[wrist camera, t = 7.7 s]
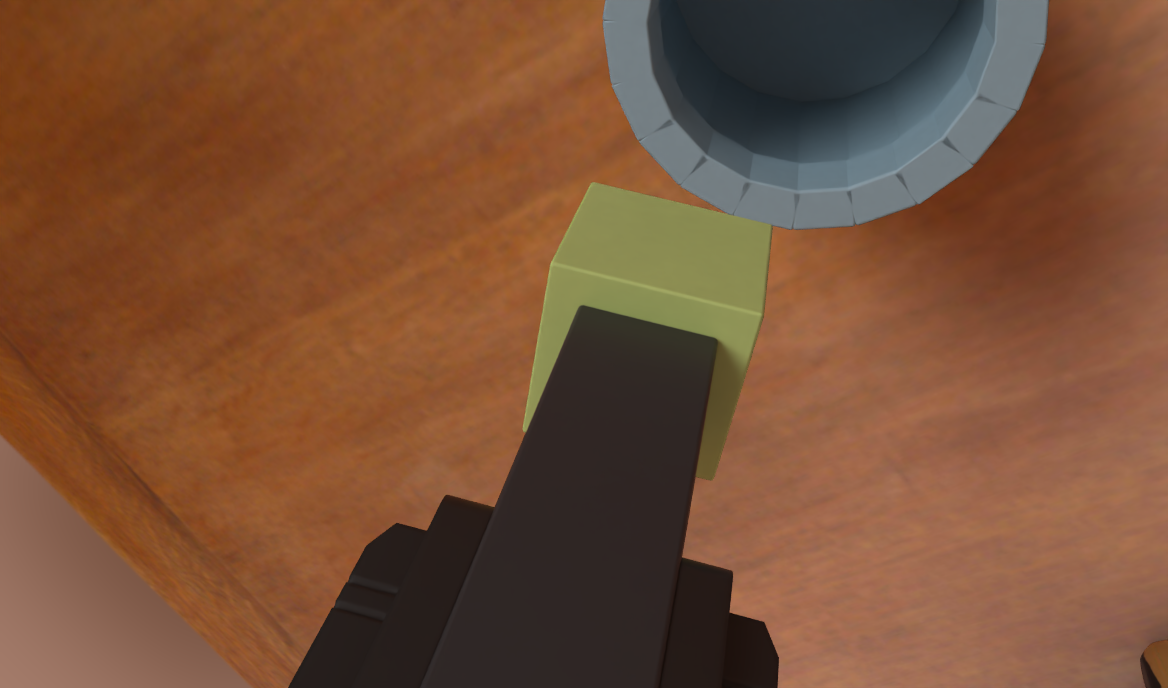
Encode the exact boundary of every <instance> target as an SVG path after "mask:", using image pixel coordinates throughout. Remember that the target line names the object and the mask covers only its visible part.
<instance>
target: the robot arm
mask: <svg viewBox="0 0 1168 688" xmlns="http://www.w3.org/2000/svg"><path fill="white" fill-rule="evenodd" d="M494 508H495V507H492V506H488V505H484V504H480V503H477V502H473V501H469V500H465V499H461V498H458V497H454V496H450V495H446V496H445V497H444V498H443V500H442V502H441V503H440V506H439V508H438V510H437V512H436V514H435V516H434V518H433V520H432V522H431V524H430V526H429V528H428V530H427V531H425V530H422V529H418V528H414V527H410V526H407V525H403V524H399V523H396V524H394V525H393V526H392V527H390V528H389V529H388V530H386V531H385V532H384V533H382V534H381V535H380V536H378V537H377V538H376V539H375V540H373V541H372V542H371V543H369V544H368V545H367V546H366V547H365V549H364V551H363V553H362V555H361V556H360V558H359V560H358V562H357V564H356V566H355V567H354V569H353V571H352V573H351V575H350V577H349V581H348V583H347V582H346V584H345V585H344V587H343V589H342V591H341V593H340V595H339V596H338V598H337V600H336V603H335V606H334V608H332V609H331V611H330V613H329V614H328V616H327V618H326V620H325V622H324V624H323V625H322V627H321V629H320V631H319V633H318V634H317V636H316V638H315V640H314V642H313V643H312V645H311V647H310V649H309V651H308V653H307V654H306V656H305V658H304V660H303V662H302V663H301V665H300V667H299V669H298V671H297V672H296V674H295V676H294V678H293V680H292V682H291V683H290V685H289V687H288V688H420V687H421V684H422V682H423V679H424V677H425V675H426V672H427V670H428V667H429V665H430V663H431V660H432V658H433V655H434V653H435V651H436V648H437V646H438V643H439V641H440V639H441V636H442V634H443V631H444V629H445V627H446V624H447V622H448V619H449V617H450V615H451V612H452V610H453V607H454V605H455V603H456V600H457V598H458V595H459V593H460V591H461V588H462V586H463V583H464V581H465V579H466V576H467V574H468V571H469V569H470V567H471V564H472V562H473V559H474V557H475V555H476V552H477V550H478V547H479V545H480V543H481V540H482V538H483V535H484V533H485V531H486V528H487V526H488V523H489V521H490V519H491V516H492V514H493V510H494ZM732 582H733V572H732V571H731V570H727V569H724V568H720V567H716V566H712V565H708V564H705V563H701V562H697V561H693V560H690V559H686V558H682V560H681V563H680V568H679V573H678V579H677V585H676V591H675V597H674V603H673V609H672V614H671V620H670V626H669V632H668V638H667V644H666V650H665V656H664V661H663V667H662V673H661V679H660V685H659V688H777V687H778V666H779V657H778V655H777V652H776V650H775V647H774V645H773V642H772V640H771V637H770V635H769V633H768V630H767V628H766V625H765V623H764V622H762V621H758V620H755V619H751V618H747V617H744V616H740V615H736V614H732V613H729V611H730V601H731V592H732Z"/></svg>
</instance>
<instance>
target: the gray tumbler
mask: <svg viewBox="0 0 1168 688" xmlns="http://www.w3.org/2000/svg"><path fill="white" fill-rule="evenodd" d="M1048 8H1049V0H606V1H605V7H604V13H603V20H604V21H603V29H604V36H605V43H606V51H607V58H608V65H609V72H610V80H611V83H612V84H613V85H612V88H613V90H614V92H615V94H616V96H617V98H618V100H619V102H620V104H621V106H622V109H623V111H624V113H625V115H626V117H627V119H628V121H629V123H630V125H631V128H632V130H633V132H634V134H635V136H636V138H637V140H640V141H639V142H640V144H641V145H642V146H643V147H644V148H645V149H646V150H647V152H648V153H649V154H650V155H651V156H652V157H653V158H654V159H655V160H656V161H657V162H658V163H659V164H660V165H661V167H662V168H663V169H664V170H665V171H666V172H667V173H668V174H669V175H670V176H671V177H672V178H673V179H674V181H675V182H676V183H677V184H678V185H681V187H682V188H684V189H685V190H687V191H689V192H691V193H692V194H694V195H696V196H698V197H699V198H701V199H703V200H705V201H706V202H708V203H710V204H712V205H713V206H715V207H717V208H718V209H720V210H722V211H724V212H725V213H727V214H729V215H733V216H738V217H742V218H746V219H750V220H754V221H758V222H763V223H767V224H771V225H772V226H776V227H781V228H785V229H789V230H792V229H795V230H801V229H818V228H836V227H853V226H855V224H856V225H861V224H864V223H867V222H870V221H873V220H875V219H878V218H881V217H884V216H887V215H890V214H893V213H896V212H898V211H901V210H904V209H907V208H910V207H913V206H915V205H916V204H921V203H922V202H924V201H925V200H927V199H928V198H929V197H931V196H932V195H934V194H935V193H937V192H938V191H940V190H941V189H942V188H944V187H945V186H947V185H948V184H950V183H951V182H952V181H954V180H955V179H957V178H958V177H960V176H961V175H962V174H964V173H965V172H967V171H968V170H970V169H971V168H972V167H973V164H975V163H977V162H978V160H979V159H980V158H981V157H982V155H983V154H984V153H985V152H986V150H987V149H988V148H989V147H990V146H991V144H992V143H993V142H994V141H995V139H996V138H997V137H998V136H999V134H1000V133H1001V132H1002V131H1003V129H1004V128H1005V127H1006V126H1007V125H1008V123H1009V122H1010V121H1011V120H1012V118H1013V117H1014V116H1015V115H1016V112H1017V110H1019V109H1020V107H1021V105H1022V102H1023V100H1024V97H1025V95H1026V92H1027V90H1028V87H1029V85H1030V82H1031V80H1032V77H1033V75H1034V73H1035V70H1036V68H1037V65H1038V63H1039V60H1040V58H1041V55H1042V53H1043V50H1044V48H1045V43H1046V37H1047V23H1048Z"/></svg>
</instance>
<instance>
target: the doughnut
mask: <svg viewBox="0 0 1168 688" xmlns="http://www.w3.org/2000/svg"><path fill="white" fill-rule="evenodd" d="M1140 662H1141V669H1142V674H1143V679H1144V683H1145V687H1146V688H1168V640H1162V641H1157V642H1154V643H1152V644H1150V645H1149V646H1148V647H1147V648H1146V649H1145V651H1144V652H1143V654H1142V655H1141V659H1140Z"/></svg>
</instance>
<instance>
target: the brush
mask: <svg viewBox="0 0 1168 688" xmlns="http://www.w3.org/2000/svg"><path fill="white" fill-rule="evenodd" d="M772 230H773V227H772V225H771V224H767V223H763V222H758V221H754V220H750V219H746V218H742V217H738V216H733V215H729V214H725V213H721V212H717V211H712V210H708V209H704V208H700V207H696V206H691V205H687V204H683V203H679V202H675V201H670V200H666V199H662V198H658V197H654V196H650V195H645V194H641V193H637V192H633V191H629V190H624V189H620V188H616V187H612V186H608V185H603V184H599V183H595V182H592V183H591V184H590V186H589V188H588V190H587V192H586V194H585V196H584V198H583V200H582V202H581V204H580V206H579V208H578V210H577V212H576V214H575V216H574V218H573V220H572V222H571V224H570V226H569V228H568V230H567V232H566V234H565V236H564V238H563V240H562V242H561V244H560V246H559V248H558V250H557V252H556V254H555V256H554V258H553V260H552V262H551V264H550V269H549V275H548V281H547V287H546V293H545V299H544V305H543V311H542V317H541V322H540V328H539V334H538V340H537V346H536V352H535V358H534V364H533V370H532V376H531V382H530V387H529V393H528V399H527V405H526V411H525V417H524V423H523V432H525V436H524V438H523V441H522V443H521V445H520V448H519V450H518V453H517V455H516V457H515V460H514V462H513V465H512V467H511V469H510V472H509V474H508V477H507V479H506V481H505V484H504V486H503V489H502V491H501V493H500V496H499V498H498V501H497V503H496V505H495V508H494V510H493V514H492V516H491V519H490V521H489V523H488V526H487V528H486V531H485V533H484V535H483V538H482V540H481V543H480V545H479V547H478V550H477V552H476V555H475V557H474V559H473V562H472V564H471V567H470V569H469V571H468V574H467V576H466V579H465V581H464V583H463V586H462V588H461V591H460V593H459V595H458V598H457V600H456V603H455V605H454V607H453V610H452V612H451V615H450V617H449V619H448V622H447V624H446V627H445V629H444V631H443V634H442V636H441V639H440V641H439V643H438V646H437V648H436V651H435V653H434V655H433V658H432V660H431V663H430V665H429V667H428V670H427V672H426V675H425V677H424V679H423V682H422V684H421V687H420V688H659V685H660V679H661V673H662V667H663V661H664V656H665V650H666V644H667V638H668V632H669V626H670V620H671V614H672V609H673V603H674V597H675V591H676V585H677V579H678V573H679V568H680V563H681V560H682V554H683V548H684V542H685V536H686V530H687V525H688V519H689V513H690V507H691V501H692V495H693V489H694V483H695V477H698V478H702V479H706V480H713V479H714V477H715V474H716V470H717V467H718V464H719V461H720V457H721V454H722V451H723V448H724V444H725V441H726V438H727V435H728V431H729V428H730V425H731V422H732V418H733V415H734V412H735V409H736V405H737V402H738V399H739V396H740V392H741V389H742V386H743V383H744V379H745V376H746V373H747V370H748V366H749V363H750V360H751V357H752V353H753V350H754V347H755V344H756V340H757V337H758V334H759V331H760V327H761V324H762V321H763V318H764V310H765V300H766V290H767V280H768V270H769V260H770V250H771V240H772Z"/></svg>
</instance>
